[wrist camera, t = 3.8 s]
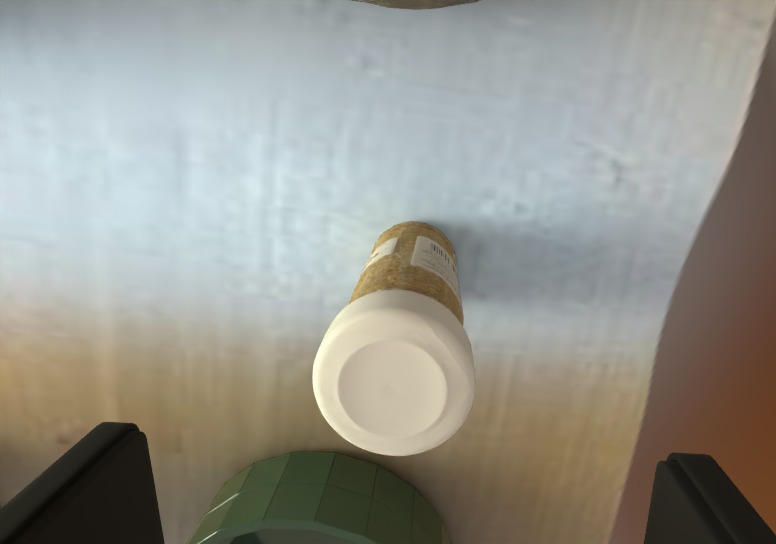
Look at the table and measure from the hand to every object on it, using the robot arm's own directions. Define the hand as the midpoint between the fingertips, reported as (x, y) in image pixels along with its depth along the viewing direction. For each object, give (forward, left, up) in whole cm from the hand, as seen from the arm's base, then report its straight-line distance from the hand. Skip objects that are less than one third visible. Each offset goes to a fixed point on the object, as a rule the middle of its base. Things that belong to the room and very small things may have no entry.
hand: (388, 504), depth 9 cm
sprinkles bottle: (0, 0, -18) cm, 18 cm away
